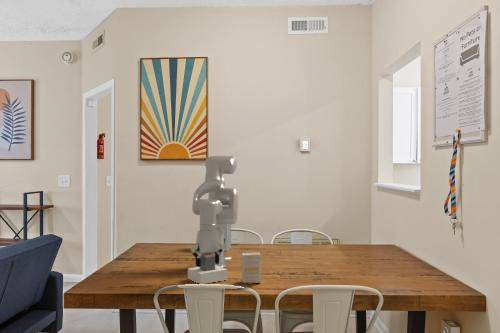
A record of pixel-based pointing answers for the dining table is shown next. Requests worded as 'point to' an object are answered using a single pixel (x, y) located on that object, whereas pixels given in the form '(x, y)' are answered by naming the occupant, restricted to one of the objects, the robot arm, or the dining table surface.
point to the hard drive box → (226, 236)
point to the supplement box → (251, 268)
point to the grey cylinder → (207, 261)
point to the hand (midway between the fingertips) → (207, 264)
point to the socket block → (207, 275)
